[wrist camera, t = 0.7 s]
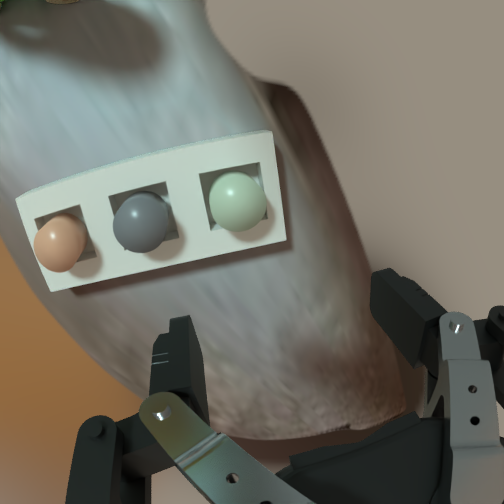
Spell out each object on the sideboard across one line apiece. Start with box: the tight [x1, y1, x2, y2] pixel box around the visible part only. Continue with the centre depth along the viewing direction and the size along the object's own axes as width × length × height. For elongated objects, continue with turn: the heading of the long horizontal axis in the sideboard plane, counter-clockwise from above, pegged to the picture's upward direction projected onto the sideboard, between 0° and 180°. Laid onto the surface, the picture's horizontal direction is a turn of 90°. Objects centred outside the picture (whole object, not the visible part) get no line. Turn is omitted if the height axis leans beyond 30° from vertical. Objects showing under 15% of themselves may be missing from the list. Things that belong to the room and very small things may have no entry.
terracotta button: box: [34, 213, 88, 273], centre depth 25 cm, size 4×4×3 cm
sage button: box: [208, 170, 267, 232], centre depth 26 cm, size 4×4×3 cm
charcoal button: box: [113, 191, 169, 253], centre depth 26 cm, size 4×4×3 cm
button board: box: [16, 130, 286, 292], centre depth 28 cm, size 10×24×3 cm, turn 99°
